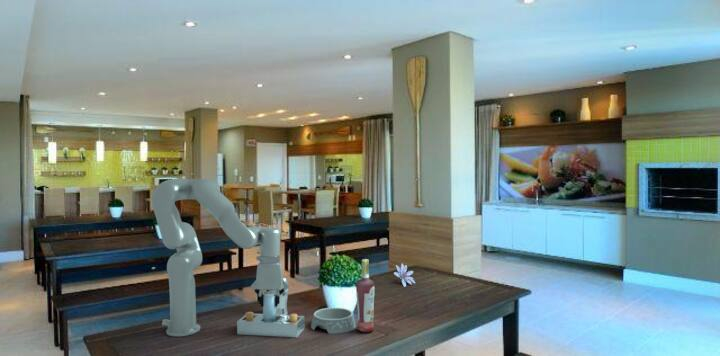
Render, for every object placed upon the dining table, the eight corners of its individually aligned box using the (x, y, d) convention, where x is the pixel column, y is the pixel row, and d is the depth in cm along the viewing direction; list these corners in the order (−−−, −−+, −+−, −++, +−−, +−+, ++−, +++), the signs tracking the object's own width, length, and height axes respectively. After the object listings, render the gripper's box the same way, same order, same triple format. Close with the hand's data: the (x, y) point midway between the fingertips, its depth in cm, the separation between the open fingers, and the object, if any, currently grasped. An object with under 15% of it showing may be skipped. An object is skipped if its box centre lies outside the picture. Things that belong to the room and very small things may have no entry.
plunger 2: (288, 328, 183) (288, 315, 183) (290, 326, 186) (290, 313, 186) (296, 329, 183) (295, 316, 182) (298, 326, 186) (298, 313, 185)
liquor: (368, 335, 181) (368, 262, 180) (352, 331, 185) (352, 260, 184) (378, 329, 187) (377, 259, 186) (362, 326, 191) (362, 257, 190)
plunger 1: (244, 326, 186) (244, 313, 186) (247, 323, 189) (247, 311, 189) (251, 326, 186) (251, 314, 185) (254, 324, 189) (254, 311, 188)
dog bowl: (327, 316, 204) (327, 304, 204) (363, 323, 195) (363, 310, 194) (302, 328, 190) (302, 315, 189) (340, 337, 180) (340, 323, 180)
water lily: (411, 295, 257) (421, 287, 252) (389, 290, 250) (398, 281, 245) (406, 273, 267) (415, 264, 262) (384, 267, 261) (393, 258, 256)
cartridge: (263, 318, 188) (263, 289, 188) (276, 318, 188) (276, 289, 188) (262, 322, 183) (262, 292, 183) (275, 322, 184) (275, 292, 183)
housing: (237, 334, 183) (237, 321, 183) (247, 325, 193) (247, 313, 193) (297, 337, 179) (297, 324, 179) (304, 328, 189) (304, 315, 189)
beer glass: (285, 316, 203) (284, 282, 203) (270, 315, 204) (269, 281, 204) (290, 311, 210) (290, 278, 209) (276, 310, 211) (275, 277, 211)
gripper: (246, 261, 180) (245, 308, 181) (291, 261, 182) (290, 308, 183) (249, 257, 188) (248, 303, 188) (292, 257, 189) (291, 302, 190)
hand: (269, 305), depth 186 cm, fingers closed on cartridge, 5 cm apart
